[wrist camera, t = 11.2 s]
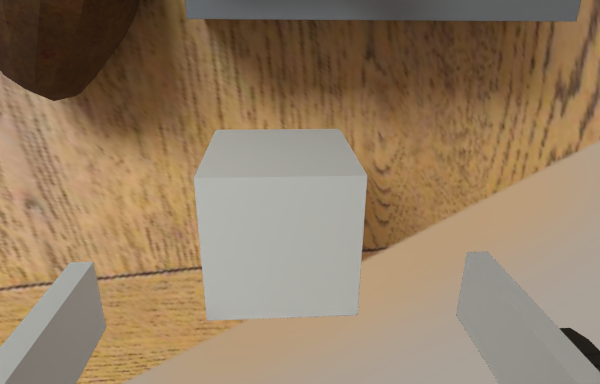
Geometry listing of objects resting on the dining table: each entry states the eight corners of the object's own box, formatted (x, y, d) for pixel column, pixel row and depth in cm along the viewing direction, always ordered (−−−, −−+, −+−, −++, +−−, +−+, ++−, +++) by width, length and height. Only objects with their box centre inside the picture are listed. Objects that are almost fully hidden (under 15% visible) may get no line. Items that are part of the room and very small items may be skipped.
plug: (229, 210, 28) (206, 320, 18) (223, 113, 26) (193, 178, 16) (326, 208, 29) (357, 315, 19) (329, 112, 26) (367, 175, 16)
